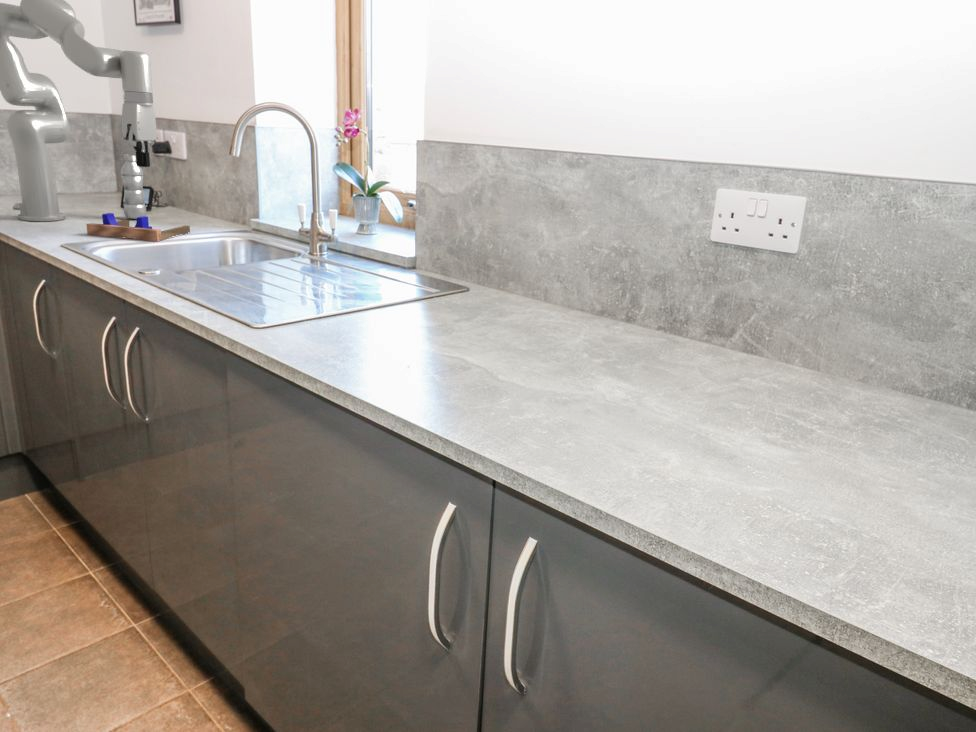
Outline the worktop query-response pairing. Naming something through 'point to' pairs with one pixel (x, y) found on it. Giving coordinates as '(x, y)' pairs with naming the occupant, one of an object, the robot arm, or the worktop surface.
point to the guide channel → (134, 231)
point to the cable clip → (110, 220)
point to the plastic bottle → (133, 188)
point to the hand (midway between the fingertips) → (143, 166)
